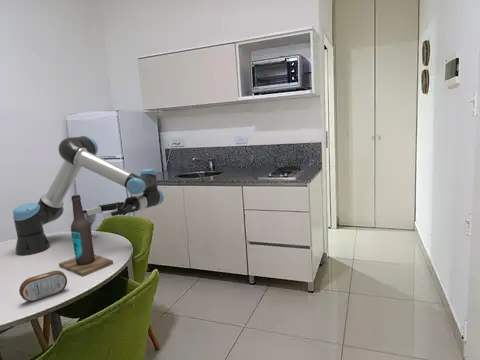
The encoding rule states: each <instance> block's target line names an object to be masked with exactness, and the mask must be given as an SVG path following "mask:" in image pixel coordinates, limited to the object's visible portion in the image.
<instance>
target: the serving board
mask: <svg viewBox="0 0 480 360" xmlns="http://www.w3.org/2000/svg"><path fill="white" fill-rule="evenodd" d="M94 257H95V260H94V261H93V262H92V263H89V264H86V265H78V264H77V263H76V258H75V257H72V258H70V259H67V260H64V261H62V262H58V267H59V268H61V269H64V270H66V271H69V272H71V273H74V274H76V275H78V276H81V277H84V276H87V275H90V274H92V273H95V272H97V271H99V270H102V269H104V268H107V267H109V266H111V265H113V264H114V260H113V259H111V258H110V259H109V258H106V257H103V256H100V255H97V254H95V253H94Z"/></svg>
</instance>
